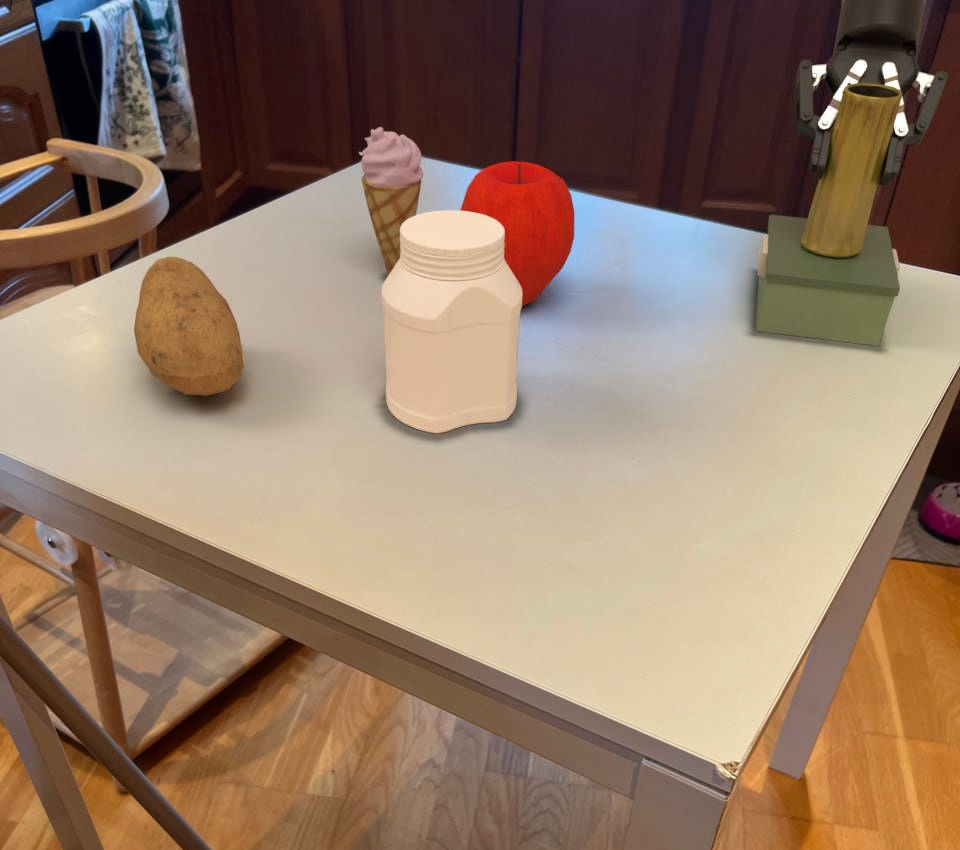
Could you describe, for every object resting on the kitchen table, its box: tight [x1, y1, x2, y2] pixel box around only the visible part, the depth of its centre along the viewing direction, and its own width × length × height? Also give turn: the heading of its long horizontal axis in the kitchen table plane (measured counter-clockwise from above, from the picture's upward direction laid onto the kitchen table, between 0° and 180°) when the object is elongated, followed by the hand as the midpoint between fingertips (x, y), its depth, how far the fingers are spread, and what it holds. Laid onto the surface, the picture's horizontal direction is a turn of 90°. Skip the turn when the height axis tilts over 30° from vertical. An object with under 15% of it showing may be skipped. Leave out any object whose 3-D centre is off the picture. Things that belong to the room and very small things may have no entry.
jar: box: [380, 209, 523, 434], centre depth 81 cm, size 12×10×15 cm
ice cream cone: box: [358, 126, 424, 276], centre depth 101 cm, size 7×6×15 cm
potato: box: [133, 256, 245, 397], centre depth 84 cm, size 9×16×9 cm, turn 18°
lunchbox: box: [755, 214, 901, 347], centre depth 100 cm, size 13×16×6 cm
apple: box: [459, 160, 575, 307], centre depth 97 cm, size 12×12×13 cm
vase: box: [801, 83, 903, 258], centre depth 93 cm, size 6×6×14 cm
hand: (852, 177), depth 92 cm, fingers closed on vase, 5 cm apart
